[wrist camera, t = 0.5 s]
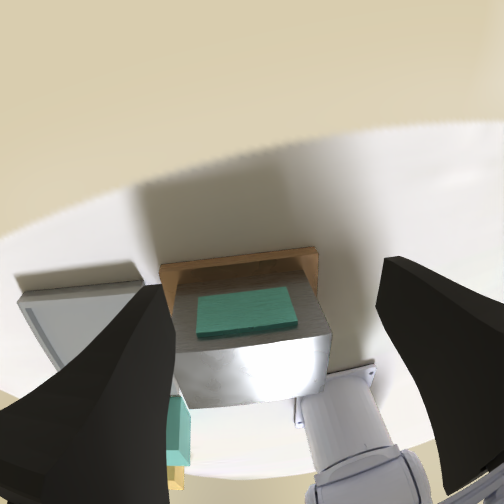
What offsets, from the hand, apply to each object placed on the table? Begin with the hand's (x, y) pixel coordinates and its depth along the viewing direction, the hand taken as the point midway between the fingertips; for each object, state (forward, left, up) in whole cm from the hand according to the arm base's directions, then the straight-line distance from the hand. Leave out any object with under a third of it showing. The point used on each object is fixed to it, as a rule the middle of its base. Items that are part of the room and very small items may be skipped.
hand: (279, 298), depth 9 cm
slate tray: (-10, +13, -9) cm, 19 cm away
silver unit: (-7, +1, -9) cm, 12 cm away
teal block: (-20, +10, -10) cm, 24 cm away
